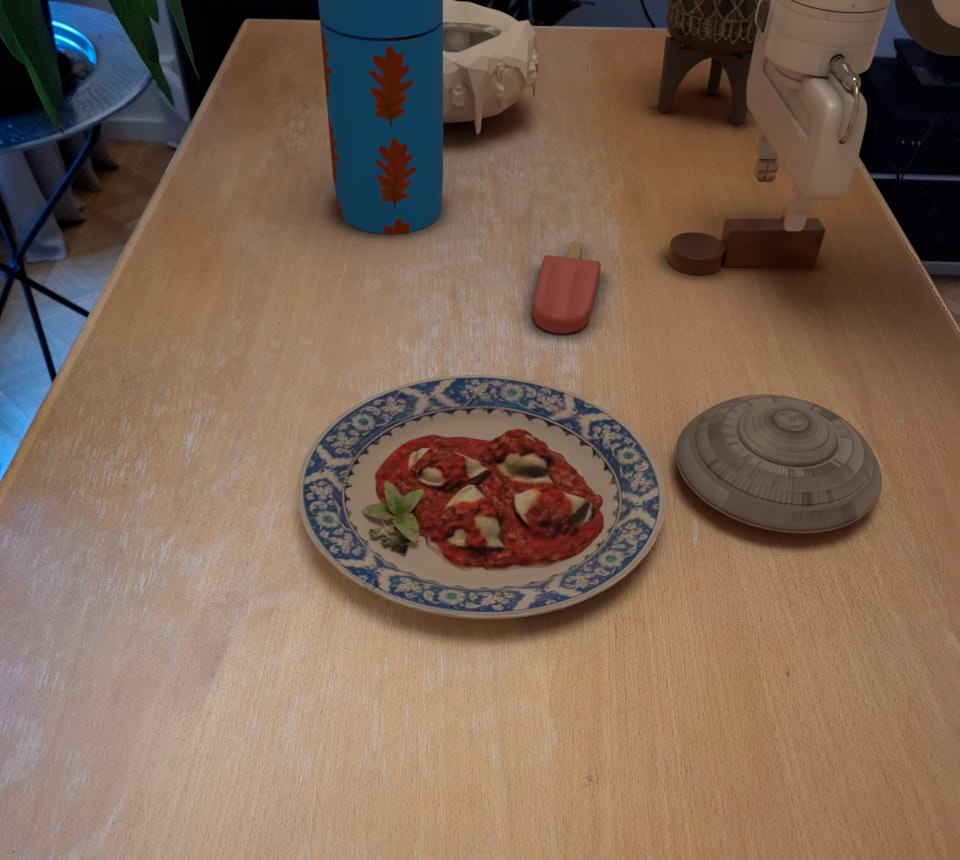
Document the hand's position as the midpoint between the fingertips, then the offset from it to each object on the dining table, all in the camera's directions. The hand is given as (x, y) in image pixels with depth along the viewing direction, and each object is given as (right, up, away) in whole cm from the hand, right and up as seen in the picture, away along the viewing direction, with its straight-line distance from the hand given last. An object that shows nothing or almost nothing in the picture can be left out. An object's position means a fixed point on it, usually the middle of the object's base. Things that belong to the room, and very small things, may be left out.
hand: (776, 202), depth 91 cm
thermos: (-36, +3, +9) cm, 38 cm away
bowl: (-31, +21, +25) cm, 45 cm away
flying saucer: (-5, -28, -17) cm, 33 cm away
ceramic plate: (-27, -31, -20) cm, 45 cm away
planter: (0, +23, +28) cm, 37 cm away
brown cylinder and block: (-2, -4, +4) cm, 6 cm away
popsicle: (-19, -8, 0) cm, 21 cm away
